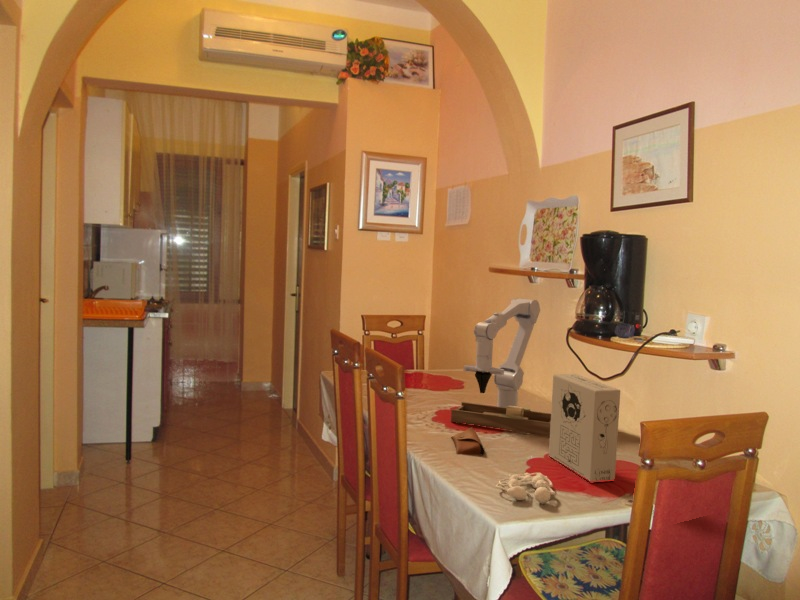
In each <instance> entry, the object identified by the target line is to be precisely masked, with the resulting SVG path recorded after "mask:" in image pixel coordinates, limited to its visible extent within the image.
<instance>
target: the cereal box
mask: <svg viewBox="0 0 800 600" xmlns="http://www.w3.org/2000/svg"><path fill="white" fill-rule="evenodd" d="M620 401H621V390H620V389H618V388H616V387H613V386H609V385H608V384H607V385H606V384H605V383H602V382H599V381H596V380H593V379H591V378H587V377H584V376H582V375H579V374H577V373H560V374H559V373H556V374H555V373H554V374H553V376H552V393H551V410H550V411H551V413H550V414H551V427H550V436H549V445H548V446H549V449H548V457H549V456H550V457H552V458H554V459H555V460H557V461H559V462H560V463H562V464H564V465H565V466H567V467H569V468H570V469H572V470H574V471H575V472H577V473H578V474H580V475H581V476H583V477H585V478H586V479H588V480H589V481H600V480H612V479H615V478H616V467H617V465H616V464H617V451H618V449H617V447H618V437H619V436H618V433H619V422H620V421H619V417H620V403H621V402H620ZM550 457H549V458H550ZM615 480H616V479H615Z"/></svg>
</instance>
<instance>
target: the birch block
mask: <svg viewBox="0 0 800 600" xmlns="http://www.w3.org/2000/svg"><path fill="white" fill-rule="evenodd" d="M523 411H524V406H523V407H522V406H518V405H517V406H509V407H508V408H507V409H506V415H512V416H519V417H523Z"/></svg>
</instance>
